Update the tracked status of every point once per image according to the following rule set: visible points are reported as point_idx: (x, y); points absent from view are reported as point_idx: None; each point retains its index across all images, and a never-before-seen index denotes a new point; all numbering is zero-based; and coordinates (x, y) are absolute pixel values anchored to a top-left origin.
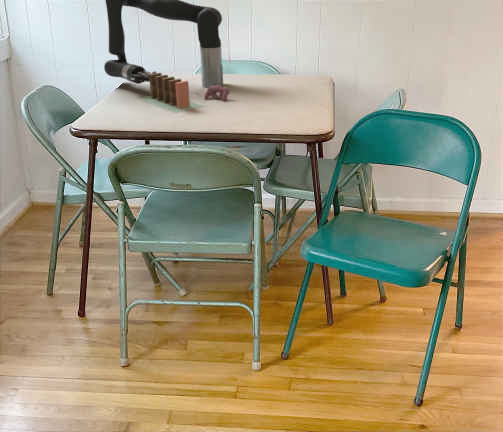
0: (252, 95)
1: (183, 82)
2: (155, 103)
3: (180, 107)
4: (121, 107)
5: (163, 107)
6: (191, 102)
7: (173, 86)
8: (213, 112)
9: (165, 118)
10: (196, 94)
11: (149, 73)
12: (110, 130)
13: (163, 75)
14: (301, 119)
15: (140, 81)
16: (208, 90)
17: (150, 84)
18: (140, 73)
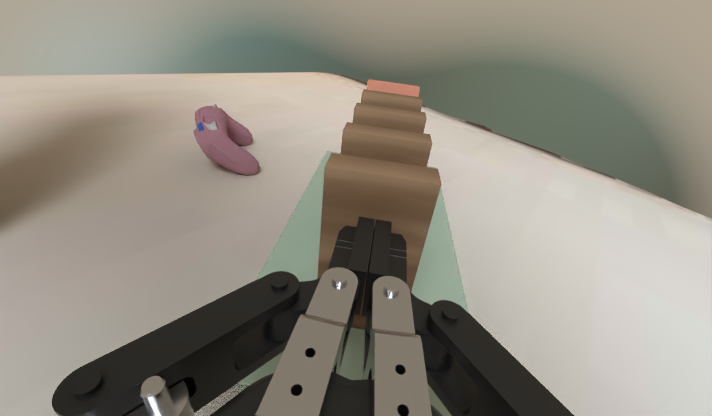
0: (134, 127)
1: (391, 83)
2: (436, 253)
3: None
4: (639, 342)
5: (438, 207)
6: (319, 181)
7: None
8: None
9: (481, 168)
10: (170, 225)
11: (307, 314)
12: (660, 198)
13: (371, 130)
14: (291, 81)
15: (465, 372)
16: (230, 140)
17: (420, 252)
18: (431, 412)
